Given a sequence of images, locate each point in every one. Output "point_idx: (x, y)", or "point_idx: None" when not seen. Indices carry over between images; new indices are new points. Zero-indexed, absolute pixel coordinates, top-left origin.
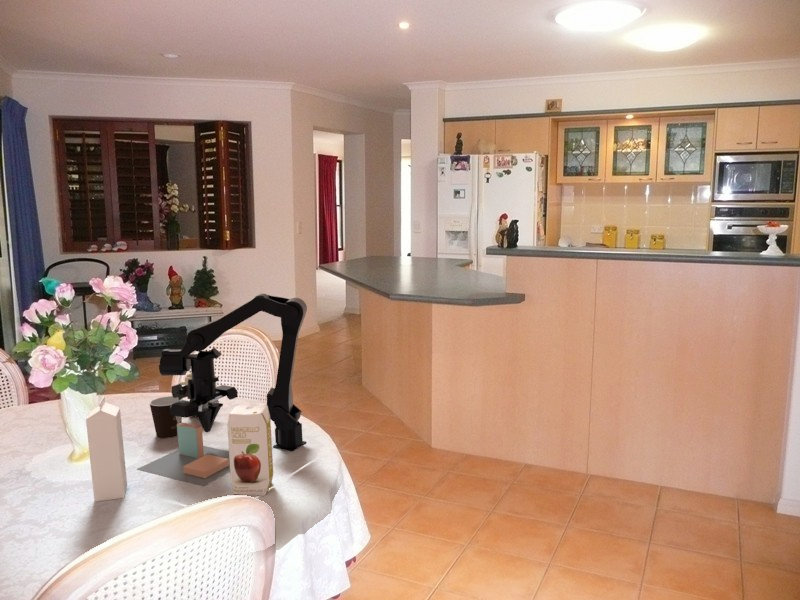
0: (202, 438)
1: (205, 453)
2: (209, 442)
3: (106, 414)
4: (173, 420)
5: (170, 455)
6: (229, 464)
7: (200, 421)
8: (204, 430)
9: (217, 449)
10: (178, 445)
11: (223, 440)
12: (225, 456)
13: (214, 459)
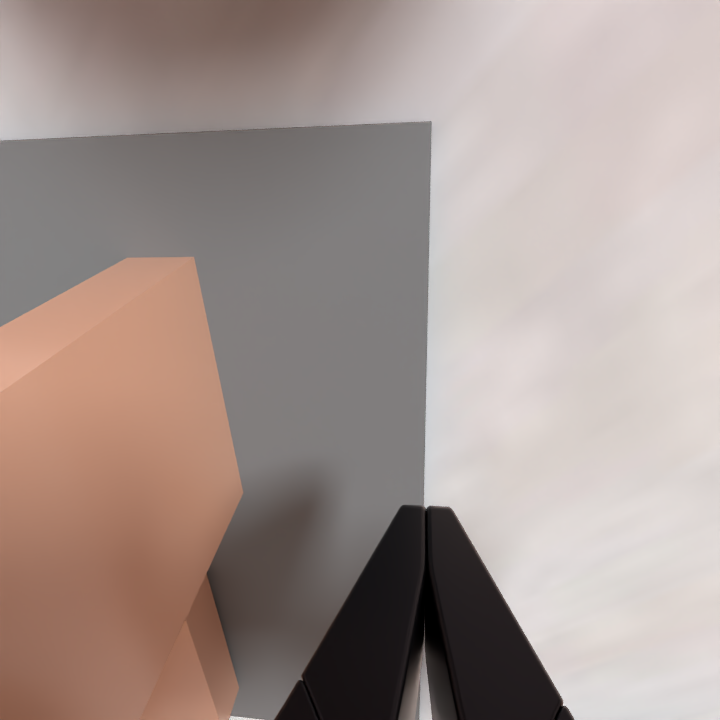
0: (164, 657)
1: (290, 468)
2: (577, 277)
3: None
4: None
5: (43, 197)
6: (253, 678)
7: (303, 688)
8: (393, 524)
9: (408, 502)
10: (61, 294)
11: (679, 379)
12: (330, 612)
13: (160, 681)
